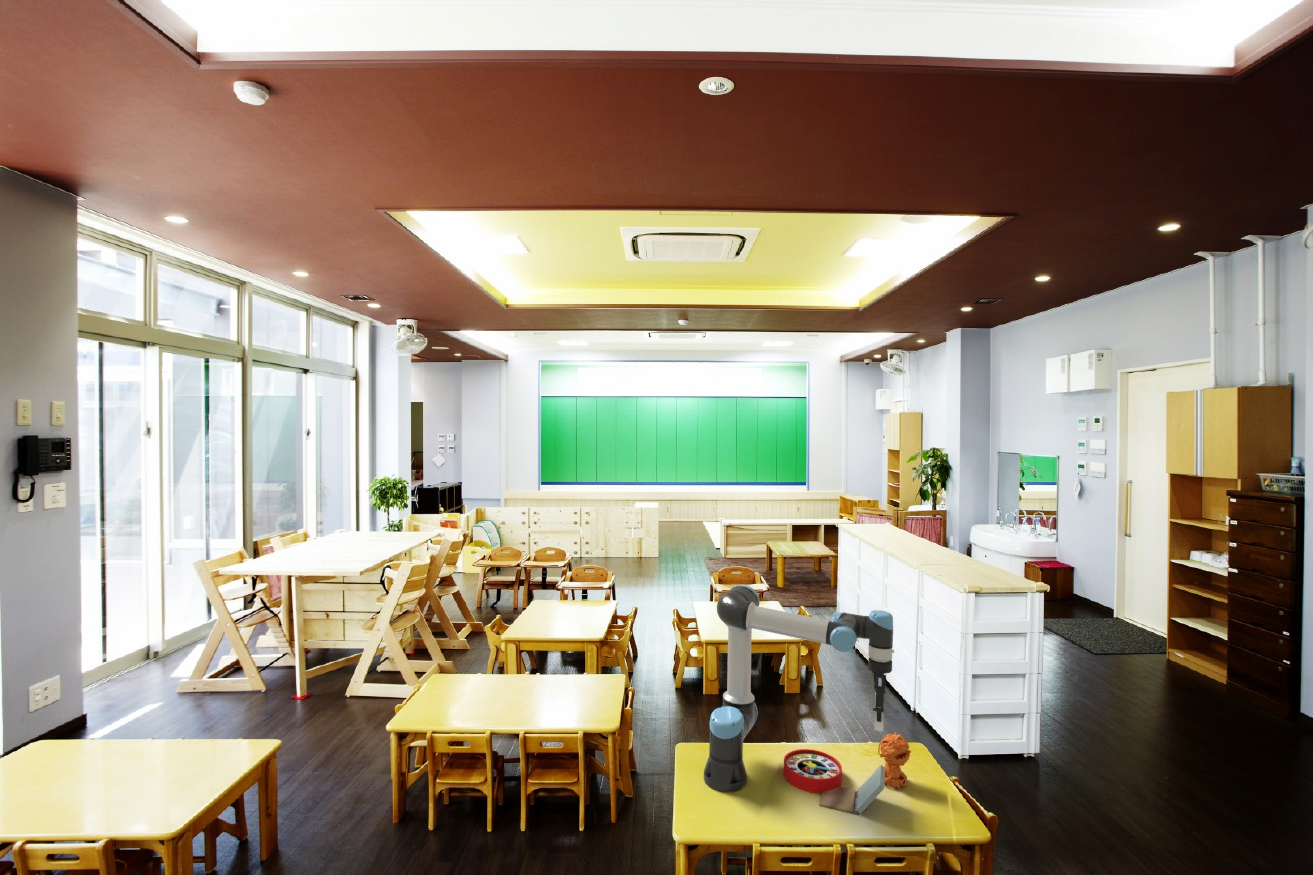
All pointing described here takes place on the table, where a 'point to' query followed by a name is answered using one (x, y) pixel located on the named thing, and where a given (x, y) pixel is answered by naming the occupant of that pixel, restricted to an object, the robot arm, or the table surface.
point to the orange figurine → (894, 759)
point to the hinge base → (839, 799)
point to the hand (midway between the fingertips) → (878, 721)
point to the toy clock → (812, 770)
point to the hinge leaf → (870, 789)
